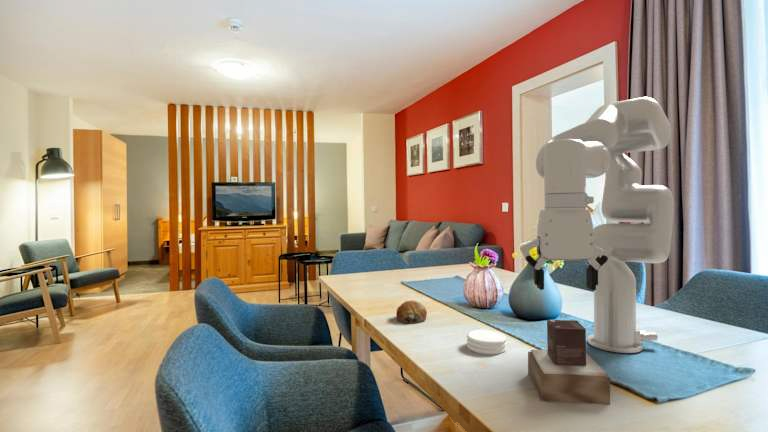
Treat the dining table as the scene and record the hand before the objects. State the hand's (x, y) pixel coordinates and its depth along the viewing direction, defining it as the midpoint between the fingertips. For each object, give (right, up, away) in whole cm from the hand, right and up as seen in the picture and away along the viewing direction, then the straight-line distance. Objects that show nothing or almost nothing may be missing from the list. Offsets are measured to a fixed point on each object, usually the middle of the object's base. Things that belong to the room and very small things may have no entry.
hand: (565, 288), depth 80 cm
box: (0, -15, 0) cm, 15 cm away
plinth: (0, -20, 0) cm, 20 cm away
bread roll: (-27, -20, +51) cm, 61 cm away
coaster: (-10, -20, +24) cm, 33 cm away
